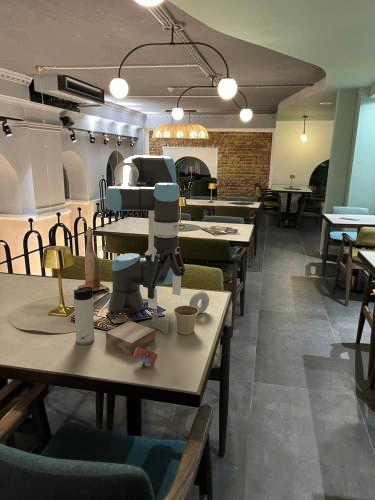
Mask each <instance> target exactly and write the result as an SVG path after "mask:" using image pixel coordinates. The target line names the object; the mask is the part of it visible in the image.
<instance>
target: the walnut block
mask: <svg viewBox="0 0 375 500" xmlns="http://www.w3.org/2000/svg"><path fill="white" fill-rule="evenodd" d="M155 333H156V329H153V328H151V327H148V326H145V325H142V324H140V323H138V322H134V321H132V320H129V321H126V322H124V323H122V324H121V325H118V326H117V327H115V328H113V329H110V330H108V331H107V332H105V344H106V346H108V347H110V348H113V349H115V350H117V351H119V352H121V353H124V354H126V355H129V356H131V357H132V356H134V351H135V349H136V348H137V347H138V346H139V347H140V348H143V347H144V348H143V349H145V348H147V347H148V346H149V347H150V346H151V345H152V344H154V343H155V341H156V337H155V336H156V334H155ZM150 344H151V345H150ZM144 345H145V346H146V347H145V346H144Z"/></svg>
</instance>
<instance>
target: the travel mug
mask: <svg viewBox="0 0 375 500" xmlns="http://www.w3.org/2000/svg"><path fill="white" fill-rule="evenodd" d="M93 292H94V291H92V288H91V287H82V288H79V289H78V288H77V289H74V290H73V299H74V300H73V301H74V302H73V303H74V305H73V306H74V321H75V322H74V325H75V326H74V327H75V328H74V329H75V343H76V344H78V345H80V346H87V345H91V344H92V343H94V341H95V320H94V318H95V317H94V297H93Z"/></svg>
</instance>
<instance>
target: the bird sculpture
mask: <svg viewBox="0 0 375 500" xmlns="http://www.w3.org/2000/svg"><path fill="white" fill-rule="evenodd" d="M93 235H94V233H93V229H92V227H91V226H88V227H87V229H86V231H85V237H87V241H86V249H85V256H84V257H85V258H84V278H85V282H84V284H80V285H78V287H77V289H79V288H82V287H91V288H92V292H96V291H100V290H102V289H104V290H107V291H110V287H108V286H105V285H104V284H101V267H100V259H99V256H98V255H97V253H96V252H95V250H94V242H93V240H94V237H93Z"/></svg>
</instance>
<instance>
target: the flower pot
mask: <svg viewBox="0 0 375 500" xmlns="http://www.w3.org/2000/svg"><path fill="white" fill-rule="evenodd" d="M173 313H174V315H175V318H176V327H177V332H178V333H179V334H182V335H184V336H185V335H186V336H187V335H191V334H193V333H194V332H195V327H196V321H197V317H198V315H199V314H198V313H199V310H198V309H197V308H196V307H194V306H190V305H179V306H176V307H174V309H173Z"/></svg>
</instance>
